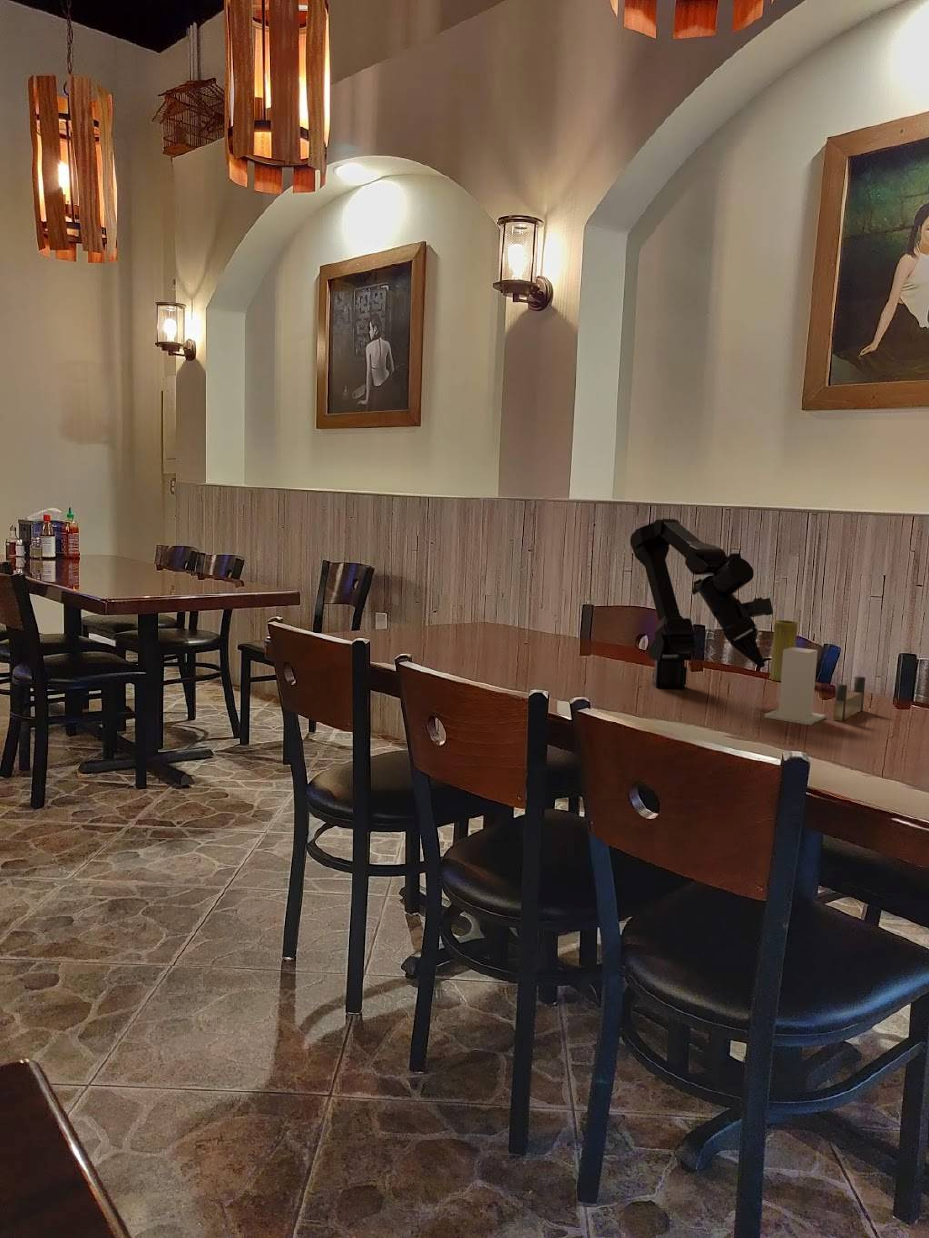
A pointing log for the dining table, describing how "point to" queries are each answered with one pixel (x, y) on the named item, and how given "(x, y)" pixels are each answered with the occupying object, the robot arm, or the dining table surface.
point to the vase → (781, 645)
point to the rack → (849, 699)
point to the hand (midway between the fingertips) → (762, 666)
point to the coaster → (808, 720)
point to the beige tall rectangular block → (797, 682)
